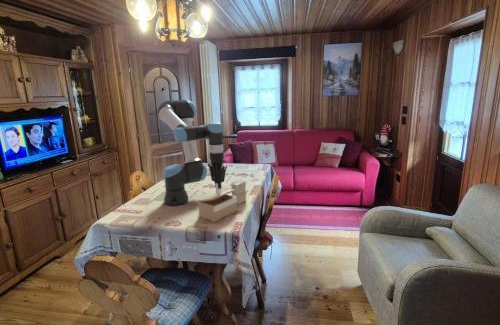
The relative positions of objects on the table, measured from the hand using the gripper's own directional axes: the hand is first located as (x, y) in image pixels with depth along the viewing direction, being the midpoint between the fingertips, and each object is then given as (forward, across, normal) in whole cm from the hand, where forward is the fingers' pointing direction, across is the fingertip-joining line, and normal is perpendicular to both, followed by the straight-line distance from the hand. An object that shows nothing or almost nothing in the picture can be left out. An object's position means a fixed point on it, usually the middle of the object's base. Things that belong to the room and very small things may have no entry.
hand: (218, 193), depth 156 cm
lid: (+2, -1, 0) cm, 2 cm away
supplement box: (+13, -3, +20) cm, 24 cm away
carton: (+12, -1, 0) cm, 12 cm away
